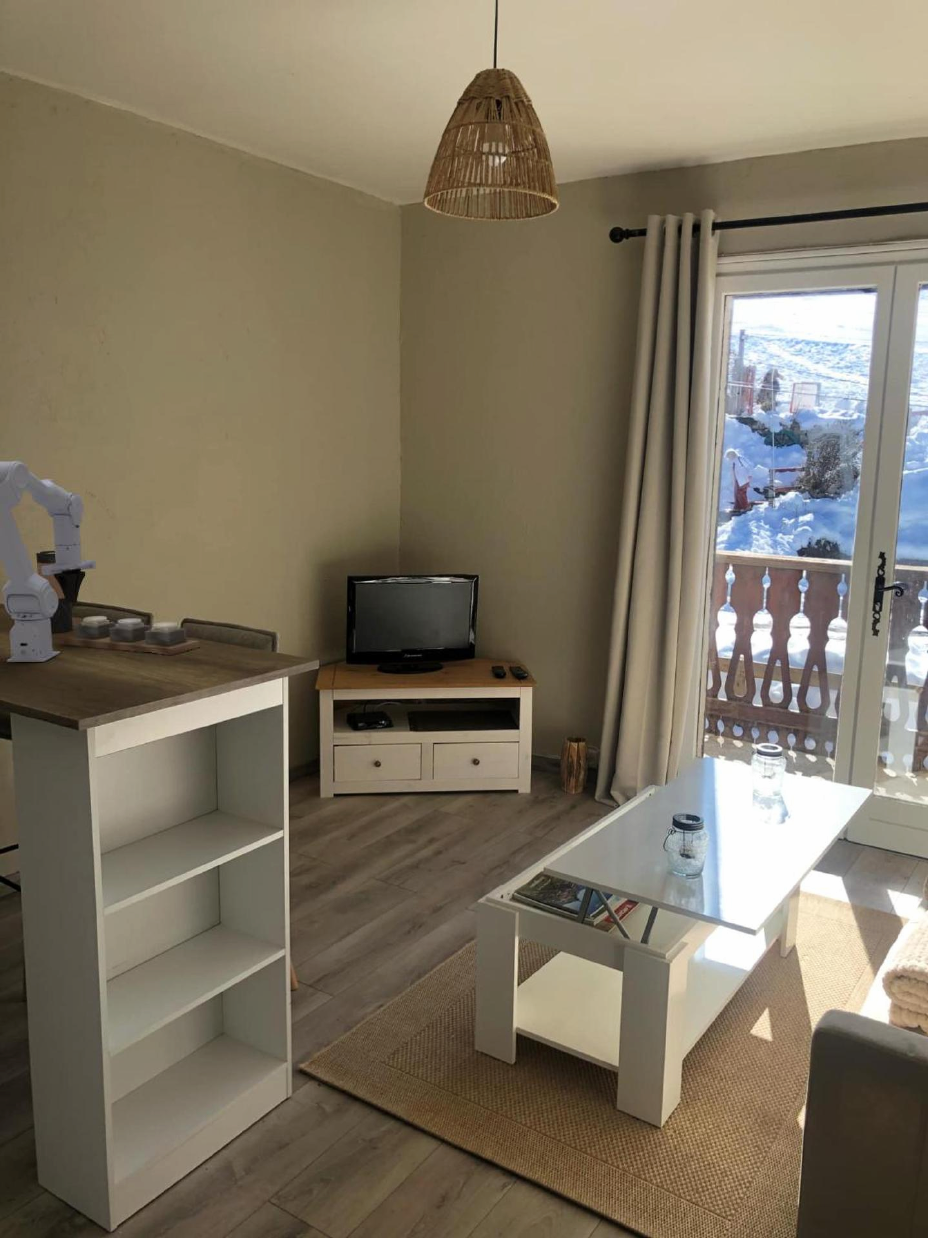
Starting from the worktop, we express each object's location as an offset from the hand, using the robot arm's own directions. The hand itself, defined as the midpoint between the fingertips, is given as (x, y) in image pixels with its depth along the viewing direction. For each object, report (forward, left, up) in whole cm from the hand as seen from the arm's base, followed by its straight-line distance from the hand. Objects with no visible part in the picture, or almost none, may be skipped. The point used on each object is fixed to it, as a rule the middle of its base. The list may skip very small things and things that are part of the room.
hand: (71, 602), depth 238 cm
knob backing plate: (-3, -14, -10) cm, 18 cm away
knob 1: (+2, -5, -8) cm, 10 cm away
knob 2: (-3, -14, -8) cm, 17 cm away
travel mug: (+18, +11, -10) cm, 23 cm away
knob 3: (-7, -24, -8) cm, 26 cm away
